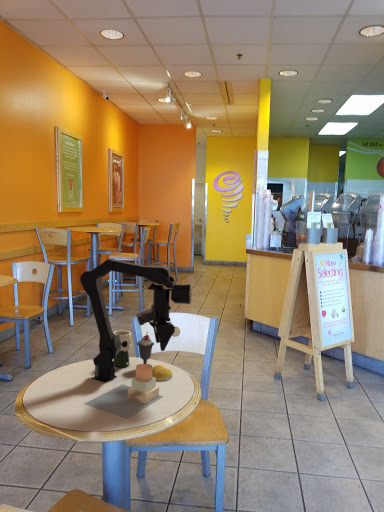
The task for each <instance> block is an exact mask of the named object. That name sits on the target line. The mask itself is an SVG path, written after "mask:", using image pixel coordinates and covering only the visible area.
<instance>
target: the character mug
mask: <svg viewBox="0 0 384 512" xmlns="http://www.w3.org/2000/svg"><path fill="white" fill-rule="evenodd" d="M113 333H114V334H115V335H118V334H119V336H120V342H121V343H122V345H121V350H120V352H119V353H118V354H117V356H116V357H115V358H114V359H113V360H112V361H113V362H114V366H117V367H127V365H130V354H129V350H130V349H131V347H132V331H130V330H125V329H124V330H123V329H122V330H115V331H113Z"/></svg>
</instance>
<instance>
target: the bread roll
mask: <svg viewBox="0 0 384 512" xmlns="http://www.w3.org/2000/svg"><path fill="white" fill-rule="evenodd" d="M173 375H174V374H173V371H172V370H171V369H169V368H167V367H166V366H164V365H160V364H159V365H154V366H152V377H154V378H156V382H159V381H163V382H164V381H169V380H171V379H172V378H173Z"/></svg>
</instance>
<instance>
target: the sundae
mask: <svg viewBox="0 0 384 512" xmlns="http://www.w3.org/2000/svg"><path fill="white" fill-rule="evenodd" d="M148 333H149V332H148V331H146V333H145V335H144V336H142V338H141V340H139V341H137V342H136V346H138V349H139V350H138V351H139V358H140V359H142V361H143V363H142V364H148V360H149V359H150V358H151V356H152V351H153V350H152V349H153V346H154V345H155V342H154V341H153V340H152V339H151V337H150V335H149V334H148Z"/></svg>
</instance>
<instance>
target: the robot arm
mask: <svg viewBox="0 0 384 512" xmlns="http://www.w3.org/2000/svg"><path fill="white" fill-rule="evenodd" d="M111 272H116V273H120V274H126V275H131V276H135V277H140V278H144V279H146V280H148V281H150V282H151V283H150V285H149V286H148V287H147V290H149V291H150V290H151V291H153V293H152V304H151V306H150V308H149V309H146V310H143V311H141V312H137V313H136V314H135V316H136V318H137V322H138V325H139V326H143V325H145V324H147V323H148V324H149V325H150V326H151V327H152V328H153V333H154V334H153V335H154V338H155V343H156V344H159V345H160V346H159V347H160V351H161V352H165V350H166V348H167V345H168V343H169V342H170V340H171V338H172V336H173V335H174V334H175V331H176V327H175V326H174V324H173V323H172V322H171V317H170V310H171V309H172V307H171V304H170V300H171V302H173V304H179V305H181V304H182V305H191V304H192V298H193V297H192V295H193V294H192V288H191V287H192V286H191V284H190V283H186V284H180V283H177V282H176V280H175V279H174V277H173V275H172V271H171V269H170V268H169V266H166V265H144V264H143V265H142V264H138V263H133V262H128V261H123V260H118V259H116V258H108V259H105V260H104V261H103V262H102V263H101V264H99V265H98V266H96V267H94V268H92V269H89V270H86V271H84V272H83V273H82V274H81V275H80V277H79V282H80V285H81V286H82V289H83V290H84V292H85V293H86V295H87V296H88V297H89V298H88V299H89V301H90V304H91V307H92V312H93V316H94V319H95V323H96V327H97V329H98V330H97V332H98V334H99V339H98V351H99V353H98V354H97V355H96V356H95V357H93V359H92V362H93V365H94V376H93V377H91V379H92V380H94V381H97V382H101V383H107V382H110V381H112V380H114V379H117V377H118V376H117V375H116V366H115V365H114V362H113V360H114V358H115V357H116V356H117V354H118V353H119V352H120V350H121V345H122V343H121V342H120V336H119V334H118V335H115V334H114V333H113V332H114V331H113V329H112V325H111V321H110V318H109V314H108V310H107V306H106V301H105V300H104V299H105V298H104V296H103V286H104V282H103V278H104V277H105V276H107V275H108V274H110V273H111Z"/></svg>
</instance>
